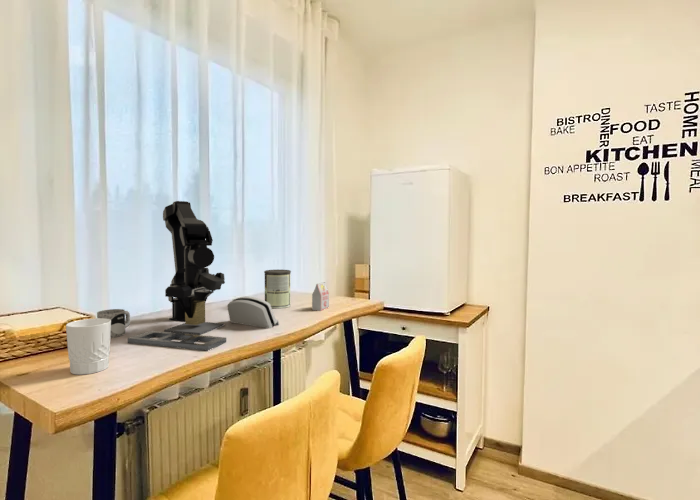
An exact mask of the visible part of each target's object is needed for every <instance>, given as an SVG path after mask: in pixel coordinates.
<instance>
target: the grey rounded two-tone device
mask: <svg viewBox="0 0 700 500" xmlns="http://www.w3.org/2000/svg"><path fill="white" fill-rule="evenodd" d="M227 311H228V317H229V321H230V323H232V324H239V325H240V324H241V325H246V326H247V325H248V326H252V327H259V328H266V329H272V328H273V325H274V326H275V325H276V326H280V321H279V319H277V318H276V316H275V314H274V311H273V308H271V305H270V304H269V303H268V302H266V301H265V299H261V298H258V297H254V296H241V297H237V298H235V299H232V300H231V301H229V303H228V304H227Z"/></svg>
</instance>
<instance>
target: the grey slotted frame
mask: <svg viewBox="0 0 700 500" xmlns="http://www.w3.org/2000/svg"><path fill="white" fill-rule="evenodd" d="M154 338H156V339H154ZM176 340H180V341H176ZM197 342H205V343H197ZM129 343H130V344H137V345H148V346H154V347H155V346H156V347H157V346H158V347H168V348H175V349H184V348H185V349H187V350H194V351H195V350H196V351H204V350H205V351H204V352H208V350H209V351H211V350H212V348H213V349H215V348H217V347H219V346H222V345H223V344H226V343H227V337H226V336H225V337H224V336H213V335H211V336H210V335H204V334H201V335H194V334H182V333H171V332H164V331H157V330H156V331H155V330H149V331H146V332H142V333H140V334H137V335H134V336H131V337H128V338H127V344H129ZM210 349H211V350H210Z"/></svg>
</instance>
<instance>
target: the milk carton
mask: <svg viewBox="0 0 700 500" xmlns="http://www.w3.org/2000/svg"><path fill="white" fill-rule="evenodd" d="M328 307H329V308H330V292H329V289H328V287H327V283H326V282H320V283H316V284H315V288H314V290H313V292H312V295H311V309H312V311H316V310H317V311H318V312H322V311H324V309H325V310H327V309H329V308H328ZM326 308H327V309H326Z"/></svg>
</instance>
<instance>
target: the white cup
mask: <svg viewBox="0 0 700 500" xmlns="http://www.w3.org/2000/svg"><path fill="white" fill-rule="evenodd" d="M65 331H66V343H67V353H68V354H67V355H68V361H69V371H70V374H73V375H78V376H79V375H91V374H95V373H99V372H102V371H105V370H107V369H108V368H109V366H110V365H109V362H110V361H109V357H110V353H111V351H110V349H111V338H112V337H111V320H110V319H103V318H97V317H96V318H88V319H87V318H86V319H79V320H74V321H70V322H68V323H66V325H65Z"/></svg>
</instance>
